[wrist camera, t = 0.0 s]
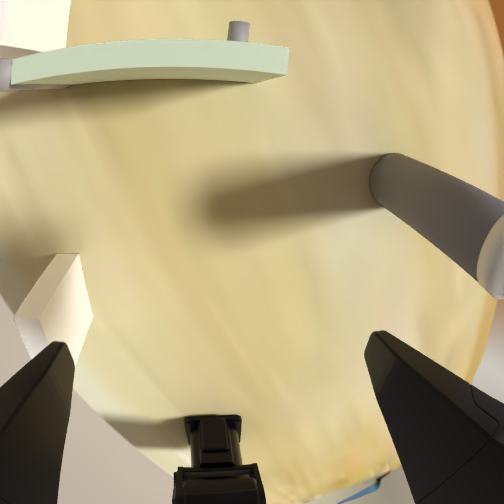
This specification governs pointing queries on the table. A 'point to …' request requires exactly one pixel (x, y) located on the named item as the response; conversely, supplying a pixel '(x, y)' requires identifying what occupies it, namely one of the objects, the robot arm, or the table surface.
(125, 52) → the door
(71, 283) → the wall frame
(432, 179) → the post
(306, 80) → the table surface
